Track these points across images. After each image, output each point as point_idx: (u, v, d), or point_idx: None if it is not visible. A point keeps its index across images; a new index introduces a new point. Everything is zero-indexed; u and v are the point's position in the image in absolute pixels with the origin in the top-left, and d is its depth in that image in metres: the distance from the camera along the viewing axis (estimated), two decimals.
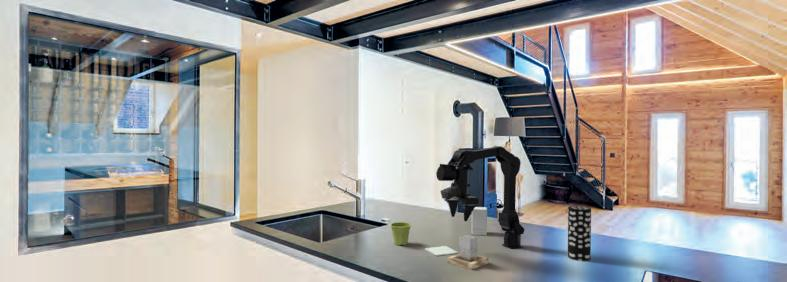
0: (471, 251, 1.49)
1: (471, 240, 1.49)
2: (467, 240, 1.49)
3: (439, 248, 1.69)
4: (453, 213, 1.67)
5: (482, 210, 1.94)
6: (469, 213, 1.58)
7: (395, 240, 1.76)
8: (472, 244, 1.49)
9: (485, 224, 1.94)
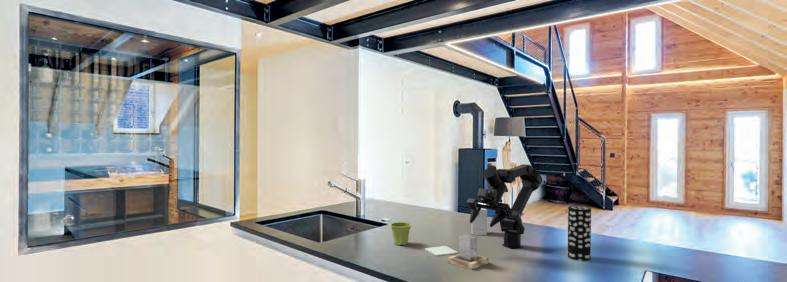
0: (471, 251, 1.49)
1: (471, 240, 1.49)
2: (467, 240, 1.49)
3: (439, 248, 1.69)
4: (472, 220, 1.61)
5: (482, 210, 1.94)
6: (497, 221, 1.55)
7: (395, 240, 1.76)
8: (472, 244, 1.49)
9: (485, 224, 1.94)
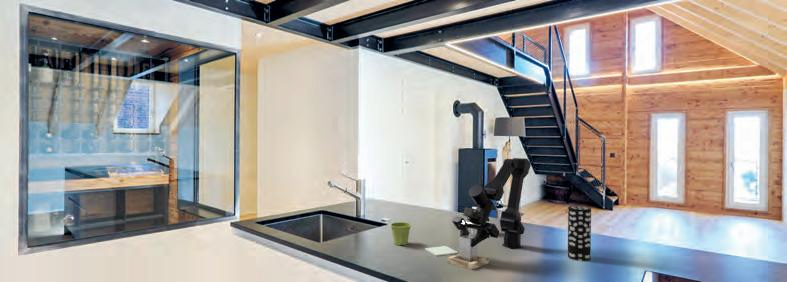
0: (471, 251, 1.49)
1: (471, 240, 1.49)
2: (467, 240, 1.49)
3: (439, 248, 1.69)
4: None
5: None
6: (478, 241, 1.50)
7: (395, 240, 1.76)
8: None
9: None
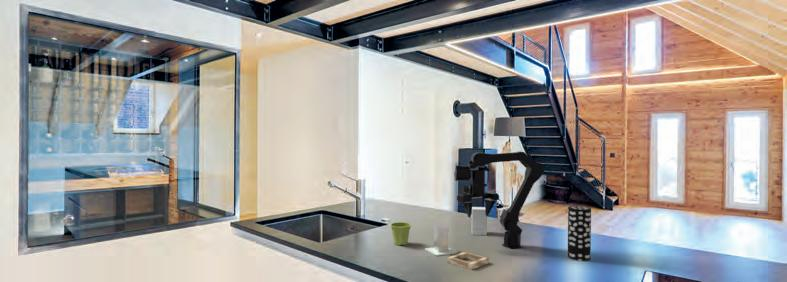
0: (440, 239, 1.64)
1: (440, 229, 1.64)
2: (437, 229, 1.65)
3: None
4: (487, 212, 1.76)
5: (482, 210, 1.94)
6: (468, 210, 1.72)
7: (395, 240, 1.76)
8: (442, 233, 1.64)
9: (485, 224, 1.94)
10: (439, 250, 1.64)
